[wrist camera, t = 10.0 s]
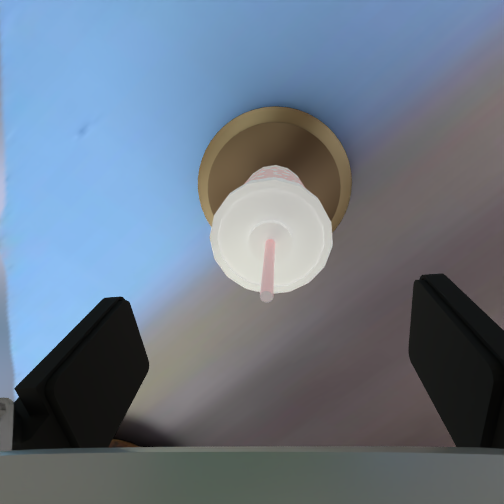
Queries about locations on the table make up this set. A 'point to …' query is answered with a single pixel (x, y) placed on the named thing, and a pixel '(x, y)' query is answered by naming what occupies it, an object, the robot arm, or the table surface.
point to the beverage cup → (271, 233)
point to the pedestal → (276, 158)
